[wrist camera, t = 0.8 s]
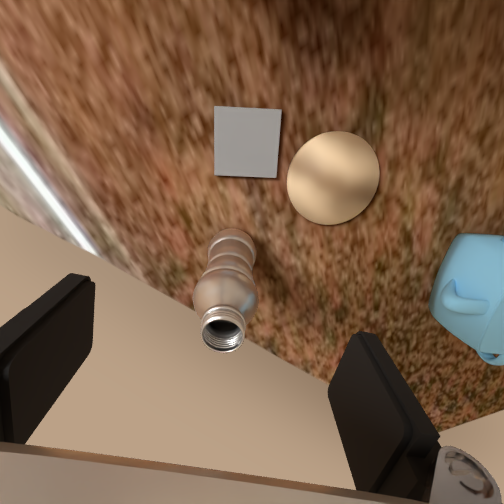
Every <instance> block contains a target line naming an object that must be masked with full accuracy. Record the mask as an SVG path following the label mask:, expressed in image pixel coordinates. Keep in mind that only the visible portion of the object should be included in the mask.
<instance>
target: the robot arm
mask: <svg viewBox="0 0 504 504" xmlns="http://www.w3.org/2000/svg"><path fill="white" fill-rule="evenodd" d="M94 300H95V283H94V282H91V279H90V277H89V276H83V275H78V274H73V273H70V274H68V275H67V276H66V277H65V278H63V279H62V280H61V281H60V282H58V283H57V284H56V285H55V286H53V287H52V288H51V289H50V290H48V291H47V292H46V293H45V294H43V295H42V296H41V297H40V298H38V299H37V300H36V301H34V302H33V303H32V304H31V305H29V306H28V307H26V308H25V309H23V310H22V311H21V312H19V313H18V314H17V315H16V316H14V317H13V318H12V319H10V320H9V321H8V322H7V323H6V324H4V325H3V326H2V327H0V504H502V502H501V494H500V490H499V487H498V485H497V483H496V482H495V480H494V478H493V477H492V476H491V474H490V473H489V472H488V470H487V469H486V468H484V466H483V465H482V464H481V463H479V461H477V460H476V459H475V458H473V457H472V456H471V455H470V454H467V453H466V452H464V451H463V450H461V449H458V448H455V447H452V446H444V447H441V446H440V444H439V443H438V441H437V440H438V439H439V437H440V435H439V433H438V432H437V430H436V429H435V427H434V426H433V424H432V422H431V421H430V419H429V418H428V416H427V415H426V413H425V411H424V410H423V408H422V407H421V405H420V403H419V402H418V400H417V399H416V397H415V396H414V394H413V392H412V391H411V389H410V388H409V386H408V384H407V383H406V381H405V380H404V378H403V377H402V375H401V373H400V372H399V370H398V369H397V367H396V365H395V364H394V362H393V361H392V359H391V358H390V356H389V354H388V353H387V351H386V350H385V348H384V347H383V345H382V343H381V342H380V340H379V339H378V337H377V336H376V335H375V334H372V333H367V332H362V331H358V332H357V333H356V334H353V335H352V336H351V338H350V340H349V343H348V345H347V347H346V349H345V351H344V354H343V356H342V358H341V360H340V363H339V365H338V367H337V369H336V371H335V374H334V376H333V378H332V380H331V382H330V385H329V387H328V398H329V401H330V404H331V408H332V411H333V414H334V418H335V421H336V424H337V427H338V431H339V434H340V437H341V440H342V444H343V447H344V451H345V454H346V457H347V460H348V464H349V467H350V470H351V473H352V477H353V480H354V483H355V487H356V490H351V489H344V488H337V487H330V486H324V485H317V484H310V483H303V482H297V481H289V480H283V479H276V478H269V477H262V476H255V475H247V474H241V473H234V472H227V471H220V470H213V469H206V468H199V467H192V466H185V465H177V464H171V463H163V462H155V461H149V460H141V459H134V458H127V457H119V456H112V455H104V454H97V453H89V452H82V451H75V450H67V449H58V448H50V447H41V446H33V445H24V444H25V443H26V442H27V440H28V439H29V437H30V436H31V435H32V433H33V432H34V430H35V429H36V428H37V426H38V425H39V423H40V422H41V421H42V419H43V418H44V416H45V415H46V414H47V412H48V411H49V410H50V408H51V407H52V405H53V404H54V402H55V401H56V400H57V398H58V397H59V396H60V394H61V393H62V391H63V390H64V388H65V387H66V385H67V384H68V383H69V382H70V380H71V379H72V377H73V376H74V375H75V373H76V372H77V370H78V369H79V368H80V366H81V365H82V363H83V362H84V361H85V359H86V358H87V356H88V355H89V353H90V351H91V348H92V341H93V322H94Z"/></svg>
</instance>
